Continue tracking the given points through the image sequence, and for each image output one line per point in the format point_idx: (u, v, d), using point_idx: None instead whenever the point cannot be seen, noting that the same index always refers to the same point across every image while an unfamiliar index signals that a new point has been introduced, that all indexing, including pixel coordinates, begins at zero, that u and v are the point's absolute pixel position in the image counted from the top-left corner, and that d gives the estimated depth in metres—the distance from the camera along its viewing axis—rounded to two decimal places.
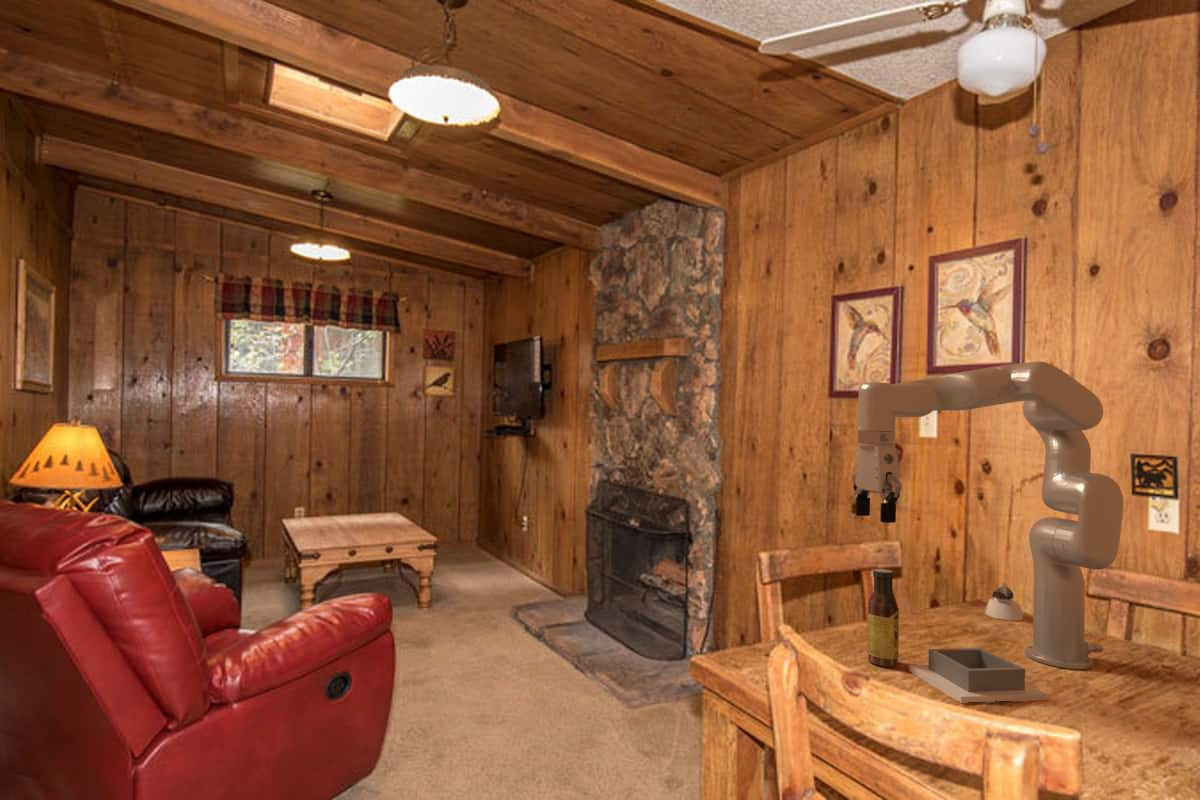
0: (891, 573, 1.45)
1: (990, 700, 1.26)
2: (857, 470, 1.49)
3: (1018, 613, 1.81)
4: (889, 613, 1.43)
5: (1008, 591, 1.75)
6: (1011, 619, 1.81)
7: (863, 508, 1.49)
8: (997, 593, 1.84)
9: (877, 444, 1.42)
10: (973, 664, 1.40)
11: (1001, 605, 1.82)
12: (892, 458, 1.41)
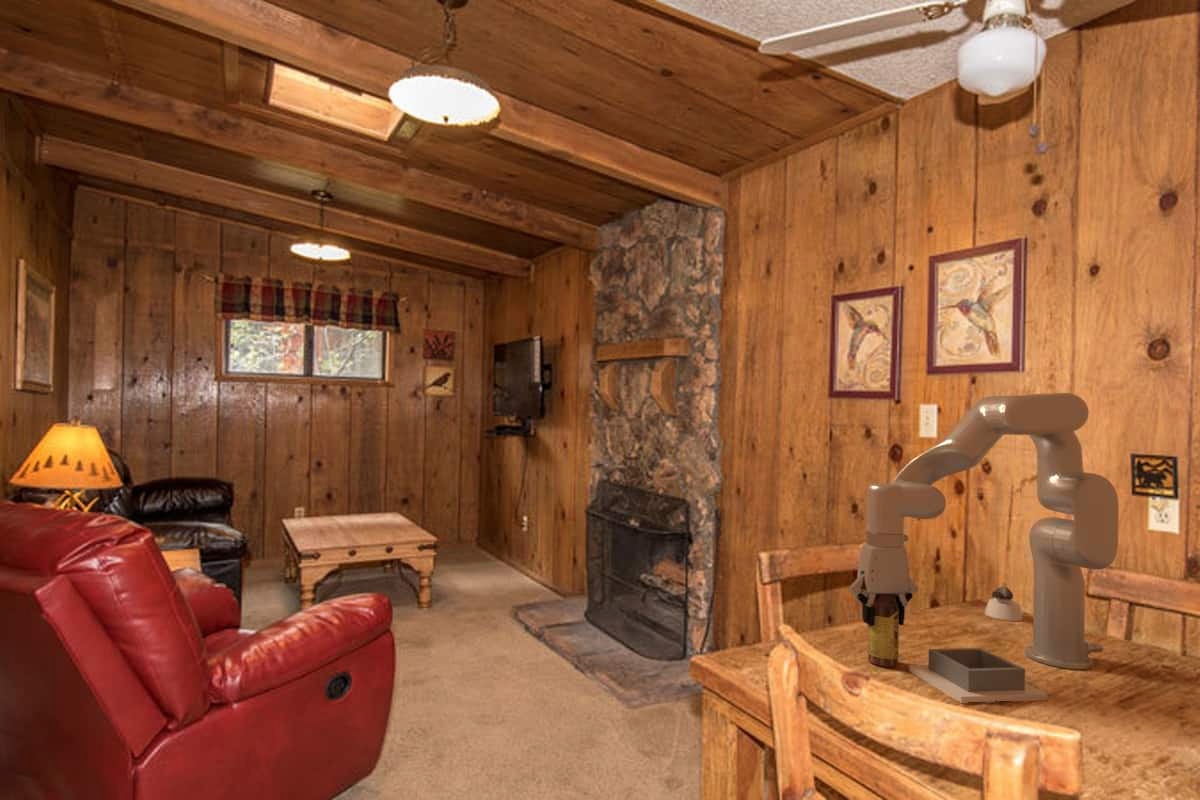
0: None
1: (990, 700, 1.26)
2: (873, 575, 1.43)
3: (1018, 613, 1.81)
4: (889, 613, 1.43)
5: (1007, 591, 1.75)
6: (1011, 619, 1.81)
7: None
8: (997, 593, 1.84)
9: None
10: (973, 664, 1.40)
11: (1001, 606, 1.82)
12: None
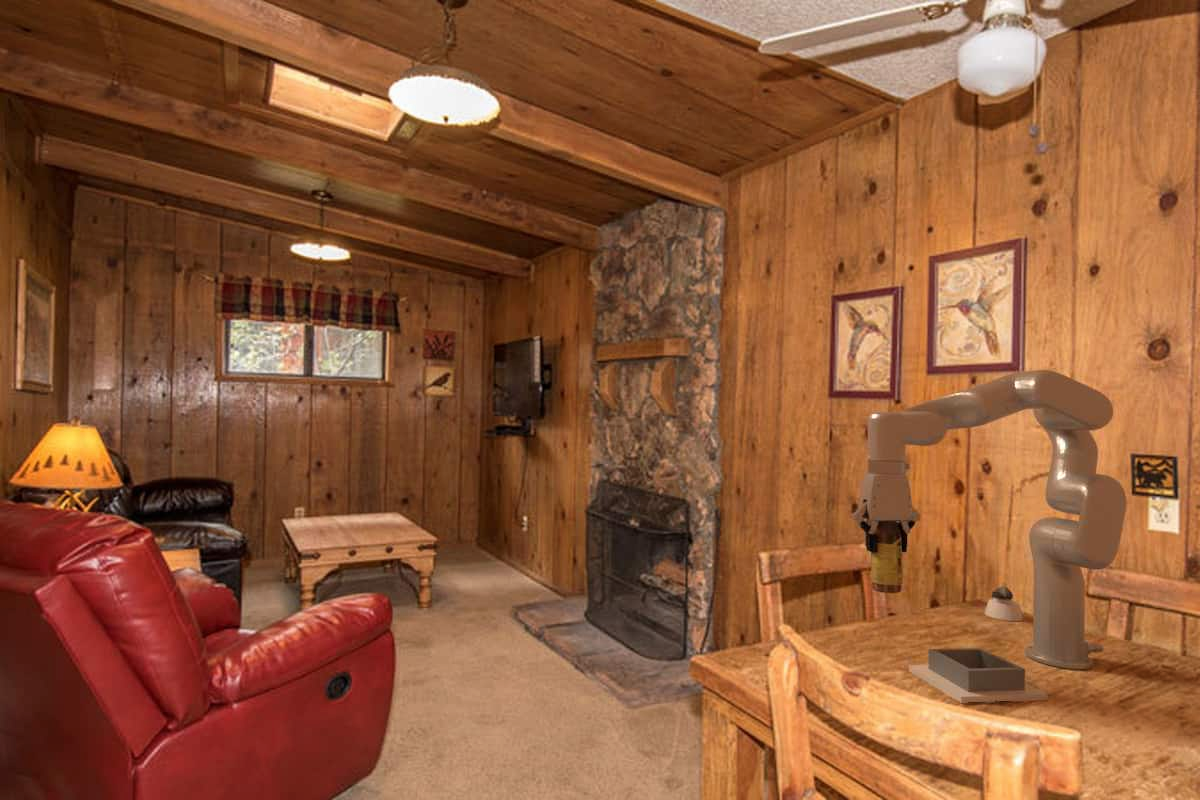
0: None
1: (990, 700, 1.26)
2: (876, 502, 1.44)
3: (1017, 613, 1.81)
4: (892, 540, 1.44)
5: (1007, 591, 1.75)
6: (1011, 619, 1.80)
7: None
8: (996, 593, 1.84)
9: (904, 473, 1.46)
10: (973, 664, 1.40)
11: (1000, 606, 1.82)
12: None
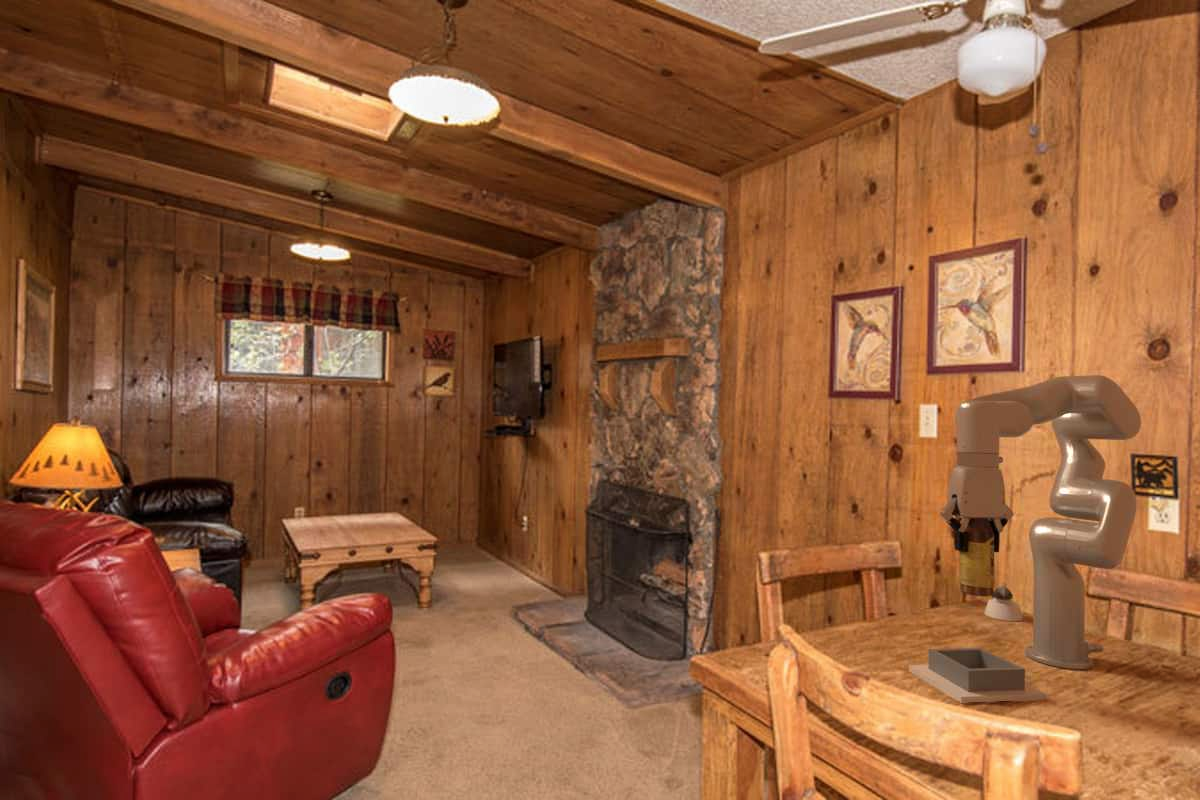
0: None
1: (990, 700, 1.26)
2: (967, 497, 1.33)
3: (1017, 613, 1.81)
4: (985, 539, 1.33)
5: (1006, 591, 1.75)
6: (1010, 619, 1.80)
7: None
8: (996, 593, 1.84)
9: None
10: (973, 664, 1.40)
11: (1000, 606, 1.82)
12: None
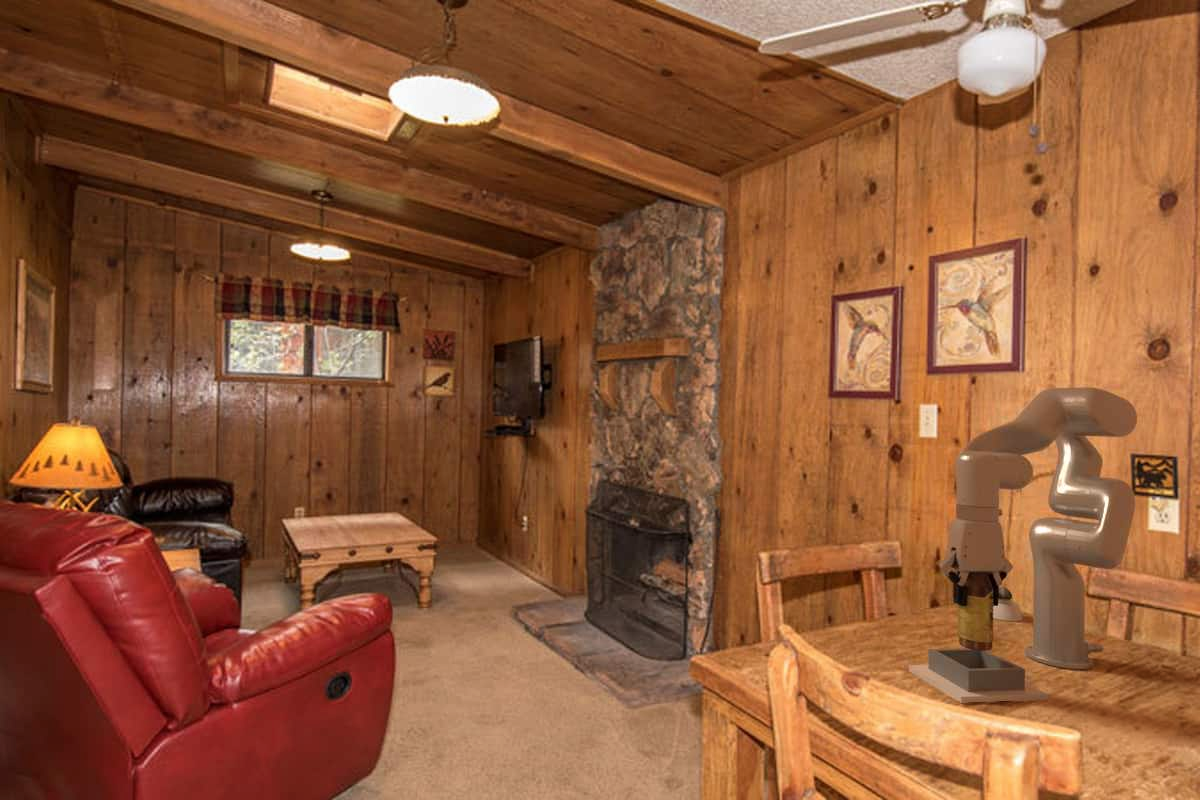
0: None
1: (990, 700, 1.26)
2: (967, 551, 1.33)
3: (1017, 614, 1.81)
4: (984, 593, 1.32)
5: (1006, 591, 1.75)
6: (1010, 619, 1.80)
7: None
8: None
9: None
10: (973, 664, 1.40)
11: (1000, 606, 1.82)
12: None
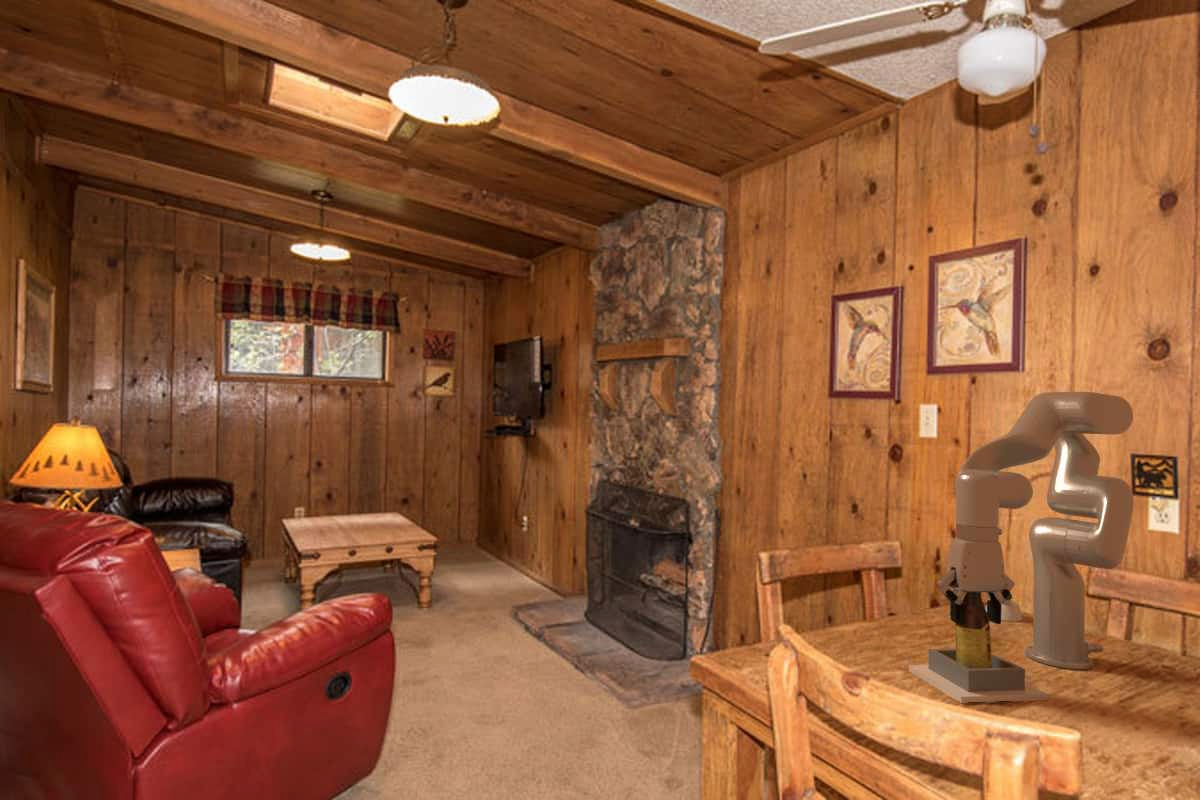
0: None
1: (990, 700, 1.26)
2: (967, 572, 1.32)
3: (1017, 614, 1.81)
4: (980, 625, 1.32)
5: None
6: (1010, 619, 1.80)
7: None
8: None
9: None
10: None
11: None
12: None
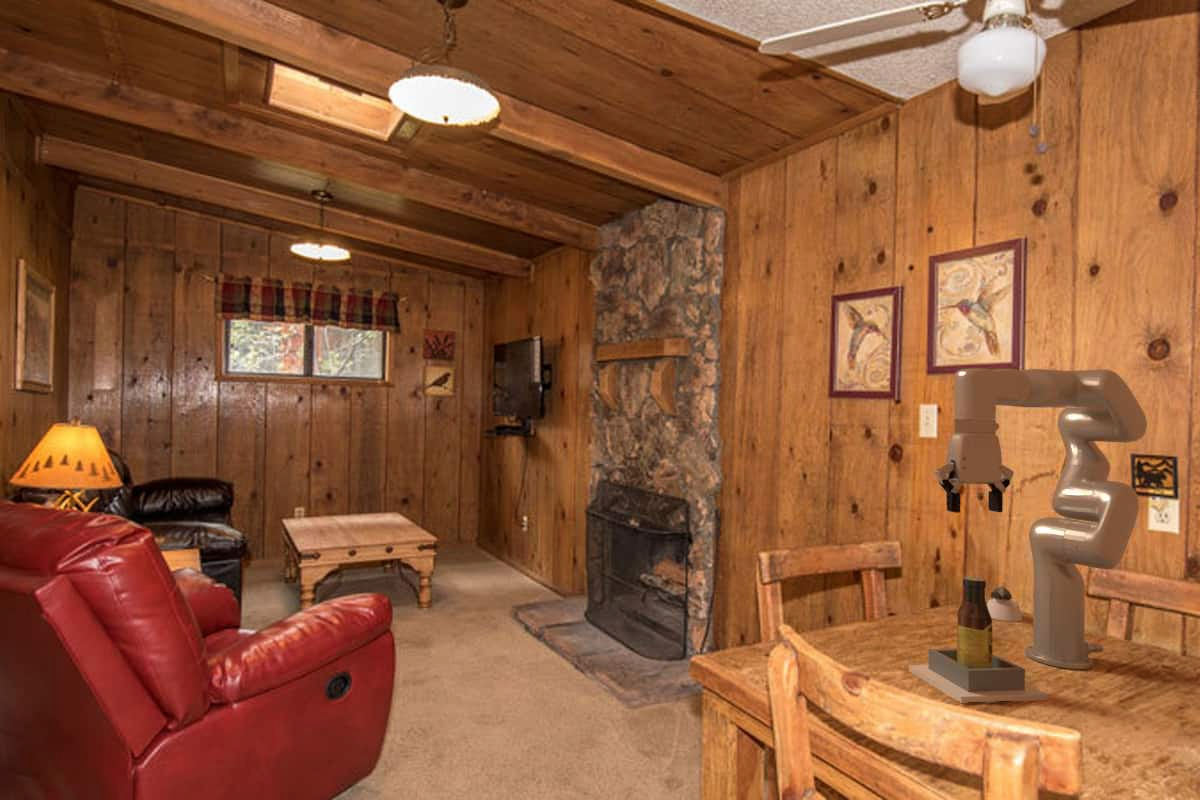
0: (984, 582, 1.34)
1: (990, 700, 1.26)
2: (966, 463, 1.36)
3: (1017, 614, 1.80)
4: (983, 625, 1.32)
5: (1005, 591, 1.75)
6: (1009, 619, 1.80)
7: None
8: (996, 594, 1.84)
9: None
10: None
11: (999, 606, 1.82)
12: None
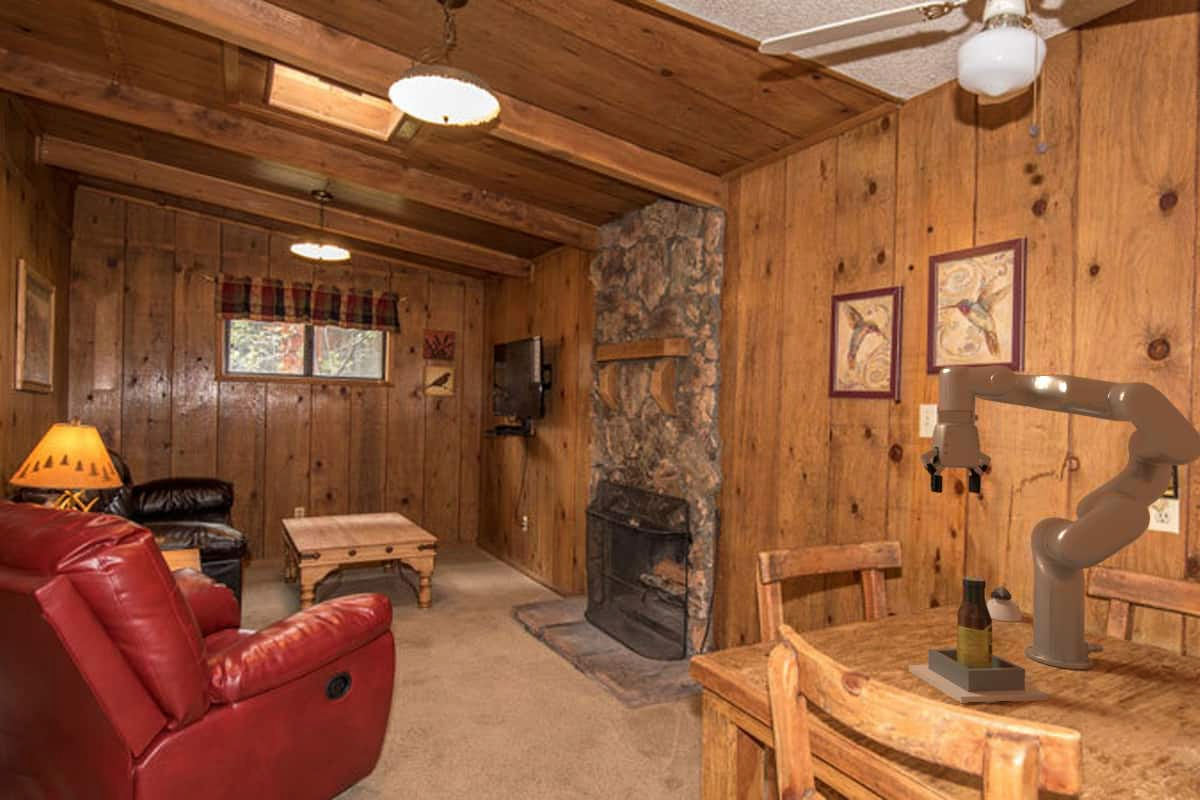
0: (984, 582, 1.34)
1: (990, 700, 1.26)
2: (947, 449, 1.54)
3: (1016, 614, 1.80)
4: (983, 626, 1.32)
5: (1004, 591, 1.75)
6: (1009, 619, 1.80)
7: None
8: (995, 594, 1.84)
9: None
10: None
11: (999, 606, 1.82)
12: None
